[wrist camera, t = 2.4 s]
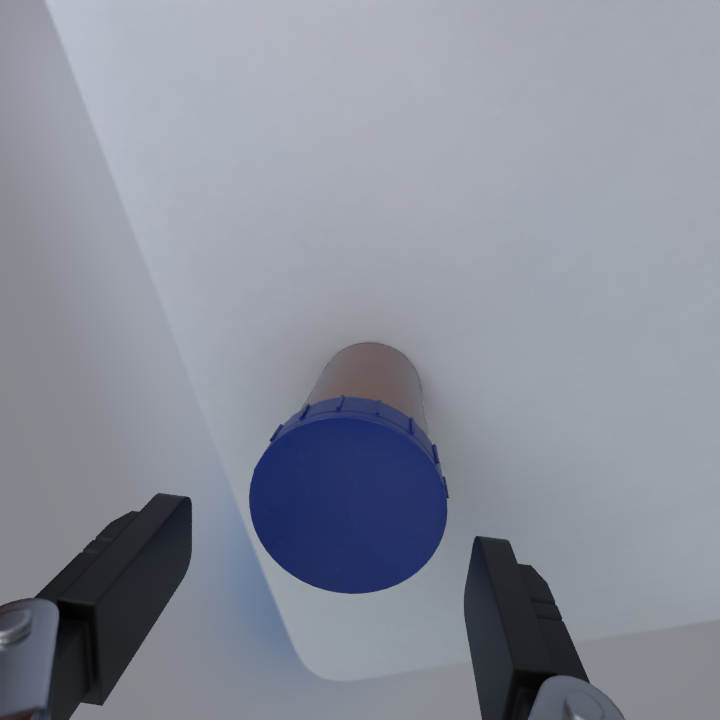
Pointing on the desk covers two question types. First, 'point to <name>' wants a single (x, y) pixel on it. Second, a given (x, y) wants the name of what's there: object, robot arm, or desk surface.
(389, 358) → the jar
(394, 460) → the lid
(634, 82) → the desk surface
